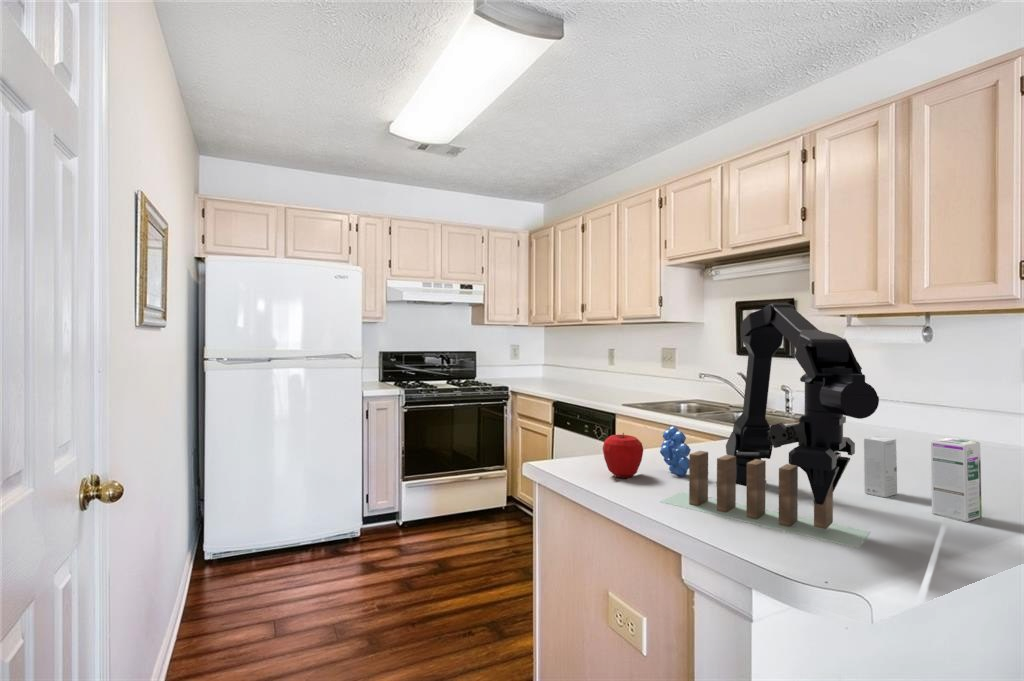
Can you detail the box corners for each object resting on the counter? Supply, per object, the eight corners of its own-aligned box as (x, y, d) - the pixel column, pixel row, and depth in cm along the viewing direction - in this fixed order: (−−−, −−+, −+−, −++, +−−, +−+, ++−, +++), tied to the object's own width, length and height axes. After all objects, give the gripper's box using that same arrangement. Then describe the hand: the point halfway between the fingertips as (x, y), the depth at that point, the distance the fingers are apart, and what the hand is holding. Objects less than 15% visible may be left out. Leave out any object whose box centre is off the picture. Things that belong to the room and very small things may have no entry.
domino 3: (746, 517, 95) (746, 463, 95) (755, 511, 99) (755, 459, 99) (756, 519, 94) (756, 464, 94) (765, 513, 98) (765, 460, 98)
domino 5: (813, 526, 88) (814, 467, 88) (821, 519, 91) (821, 463, 91) (826, 529, 87) (826, 469, 87) (832, 522, 90) (833, 464, 90)
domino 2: (716, 510, 99) (716, 458, 99) (726, 505, 103) (726, 454, 103) (726, 512, 98) (726, 460, 98) (735, 507, 101) (735, 456, 102)
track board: (681, 494, 112) (681, 491, 112) (870, 535, 88) (870, 531, 88) (659, 504, 105) (659, 501, 105) (858, 552, 81) (858, 548, 81)
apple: (595, 473, 129) (595, 430, 129) (626, 470, 133) (627, 428, 133) (618, 483, 120) (618, 437, 120) (651, 479, 124) (651, 434, 124)
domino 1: (689, 504, 103) (689, 454, 103) (699, 499, 106) (699, 450, 107) (698, 506, 102) (698, 455, 102) (708, 501, 105) (708, 451, 105)
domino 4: (778, 524, 92) (778, 468, 92) (786, 518, 95) (786, 463, 95) (789, 527, 90) (789, 470, 90) (797, 520, 94) (797, 465, 94)
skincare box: (886, 498, 110) (886, 441, 110) (862, 493, 114) (862, 438, 114) (898, 493, 114) (898, 438, 114) (875, 489, 117) (875, 435, 117)
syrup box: (967, 522, 95) (968, 444, 95) (930, 513, 100) (930, 438, 100) (982, 518, 98) (982, 441, 98) (944, 509, 103) (944, 436, 103)
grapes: (648, 470, 133) (648, 423, 133) (672, 469, 135) (673, 423, 135) (671, 482, 122) (671, 431, 122) (697, 480, 123) (697, 430, 123)
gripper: (788, 402, 101) (788, 481, 101) (755, 410, 88) (755, 502, 88) (855, 407, 94) (855, 493, 94) (831, 417, 80) (830, 518, 80)
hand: (823, 500), depth 89 cm, fingers closed on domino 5, 5 cm apart
